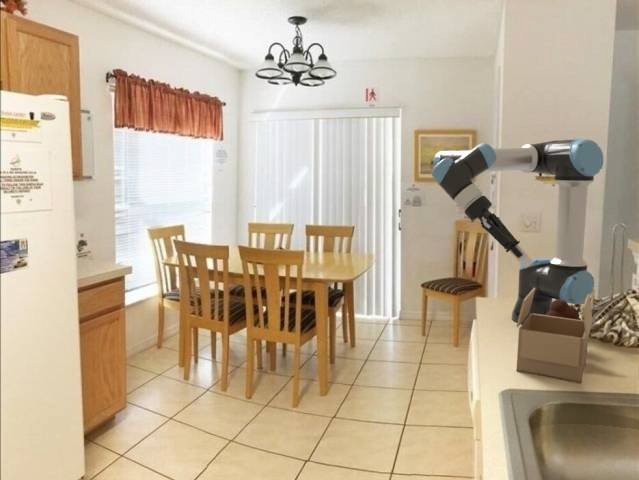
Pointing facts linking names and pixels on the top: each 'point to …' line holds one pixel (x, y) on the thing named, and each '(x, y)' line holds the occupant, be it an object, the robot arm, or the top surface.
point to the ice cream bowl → (563, 310)
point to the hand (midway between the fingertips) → (529, 265)
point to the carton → (552, 347)
